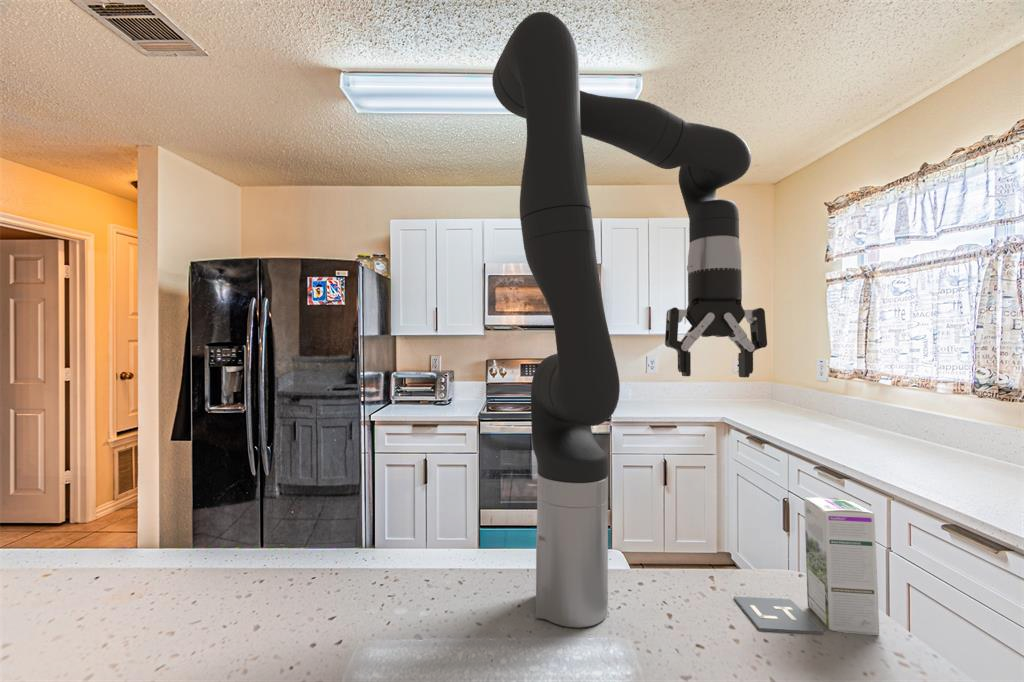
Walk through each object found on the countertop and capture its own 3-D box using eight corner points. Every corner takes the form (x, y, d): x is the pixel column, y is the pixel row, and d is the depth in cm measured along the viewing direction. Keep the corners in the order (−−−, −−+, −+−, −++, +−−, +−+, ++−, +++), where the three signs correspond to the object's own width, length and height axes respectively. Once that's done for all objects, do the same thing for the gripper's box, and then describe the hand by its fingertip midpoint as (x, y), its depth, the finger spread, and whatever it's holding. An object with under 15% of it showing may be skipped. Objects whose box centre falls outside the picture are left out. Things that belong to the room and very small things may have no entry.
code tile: (759, 630, 54) (759, 627, 54) (733, 598, 62) (733, 595, 62) (823, 634, 54) (823, 631, 54) (790, 601, 61) (790, 598, 61)
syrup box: (882, 637, 53) (878, 512, 54) (827, 631, 54) (824, 509, 55) (853, 610, 59) (851, 498, 60) (804, 606, 60) (802, 495, 61)
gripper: (673, 265, 66) (673, 376, 65) (774, 265, 65) (776, 378, 64) (660, 275, 74) (660, 375, 73) (751, 275, 72) (752, 376, 72)
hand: (715, 376), depth 68 cm, fingers open, 8 cm apart
